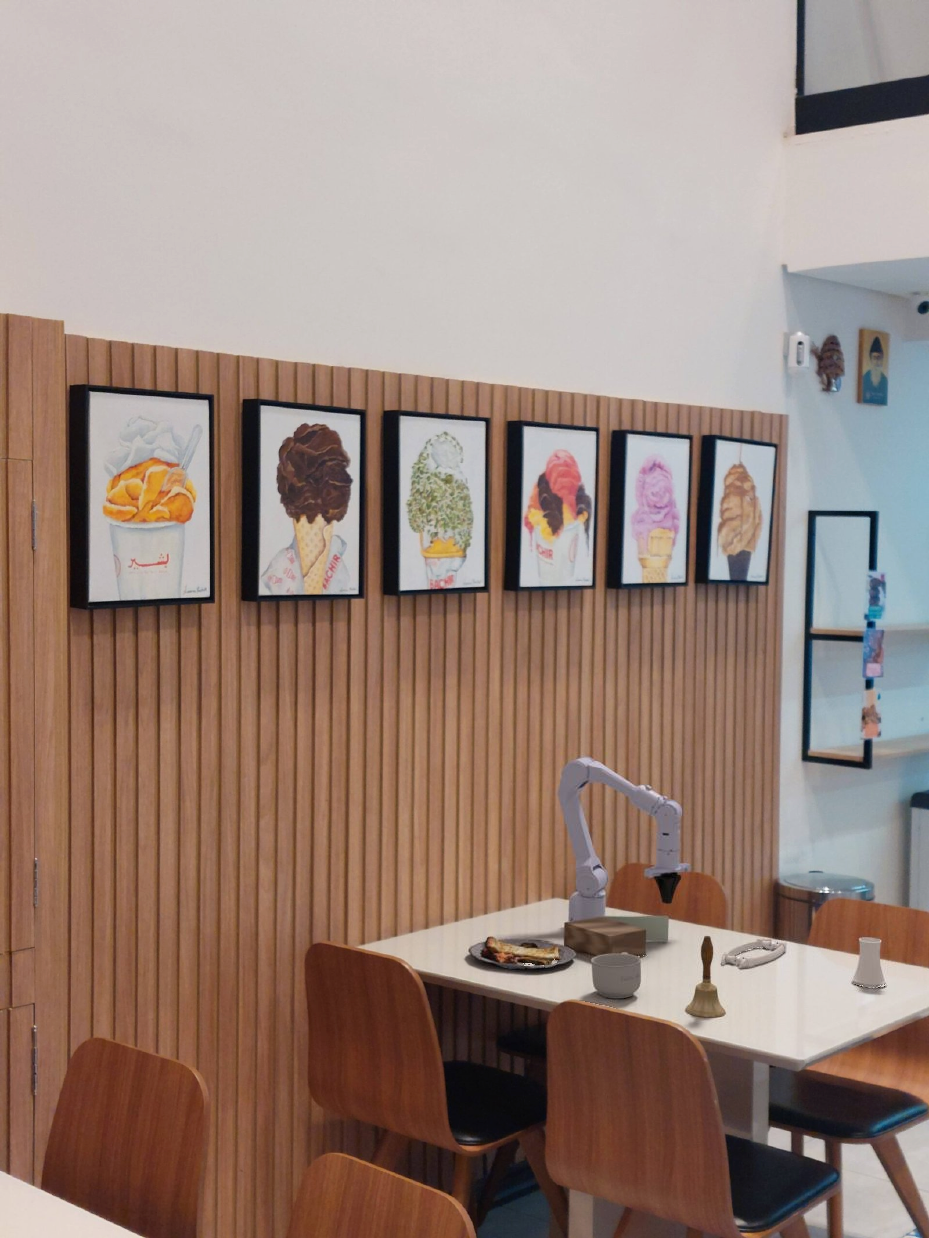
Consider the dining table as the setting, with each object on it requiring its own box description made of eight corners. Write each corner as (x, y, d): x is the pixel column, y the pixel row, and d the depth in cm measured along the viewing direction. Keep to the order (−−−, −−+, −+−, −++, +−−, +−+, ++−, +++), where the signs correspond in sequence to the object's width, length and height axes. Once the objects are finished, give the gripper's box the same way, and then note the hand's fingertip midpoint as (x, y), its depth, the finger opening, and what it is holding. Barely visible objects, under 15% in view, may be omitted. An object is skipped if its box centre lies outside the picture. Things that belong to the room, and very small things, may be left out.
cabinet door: (601, 940, 356) (601, 916, 356) (599, 937, 359) (600, 914, 358) (668, 940, 357) (668, 917, 357) (666, 938, 359) (666, 914, 359)
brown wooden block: (563, 948, 349) (564, 922, 349) (600, 941, 356) (600, 916, 356) (608, 963, 336) (609, 936, 336) (645, 955, 344) (646, 929, 343)
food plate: (456, 965, 331) (456, 950, 331) (484, 943, 353) (485, 929, 353) (561, 979, 323) (562, 964, 323) (583, 956, 346) (584, 941, 346)
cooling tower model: (876, 978, 328) (878, 935, 328) (892, 988, 321) (893, 943, 320) (846, 979, 327) (847, 936, 326) (860, 988, 319) (861, 944, 319)
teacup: (627, 1005, 303) (628, 967, 303) (581, 996, 309) (582, 959, 309) (654, 989, 315) (655, 953, 315) (610, 981, 321) (611, 946, 321)
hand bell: (730, 1017, 296) (732, 941, 296) (690, 1017, 295) (692, 940, 295) (720, 1005, 304) (721, 931, 304) (681, 1005, 304) (683, 931, 303)
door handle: (796, 952, 352) (750, 972, 332) (759, 945, 358) (712, 964, 338) (796, 941, 352) (750, 960, 332) (759, 934, 358) (712, 953, 338)
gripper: (658, 854, 354) (657, 909, 354) (699, 848, 362) (698, 902, 363) (638, 850, 359) (637, 904, 360) (679, 844, 368) (678, 897, 368)
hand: (666, 902), depth 362 cm, fingers closed
